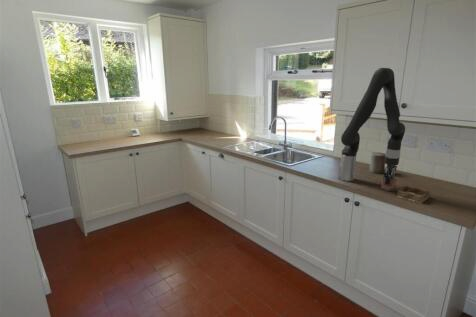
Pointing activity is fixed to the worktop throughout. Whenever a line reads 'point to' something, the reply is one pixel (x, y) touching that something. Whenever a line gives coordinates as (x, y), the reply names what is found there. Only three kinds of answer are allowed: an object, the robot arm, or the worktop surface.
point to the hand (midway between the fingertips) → (388, 183)
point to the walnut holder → (413, 194)
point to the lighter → (391, 184)
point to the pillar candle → (377, 162)
